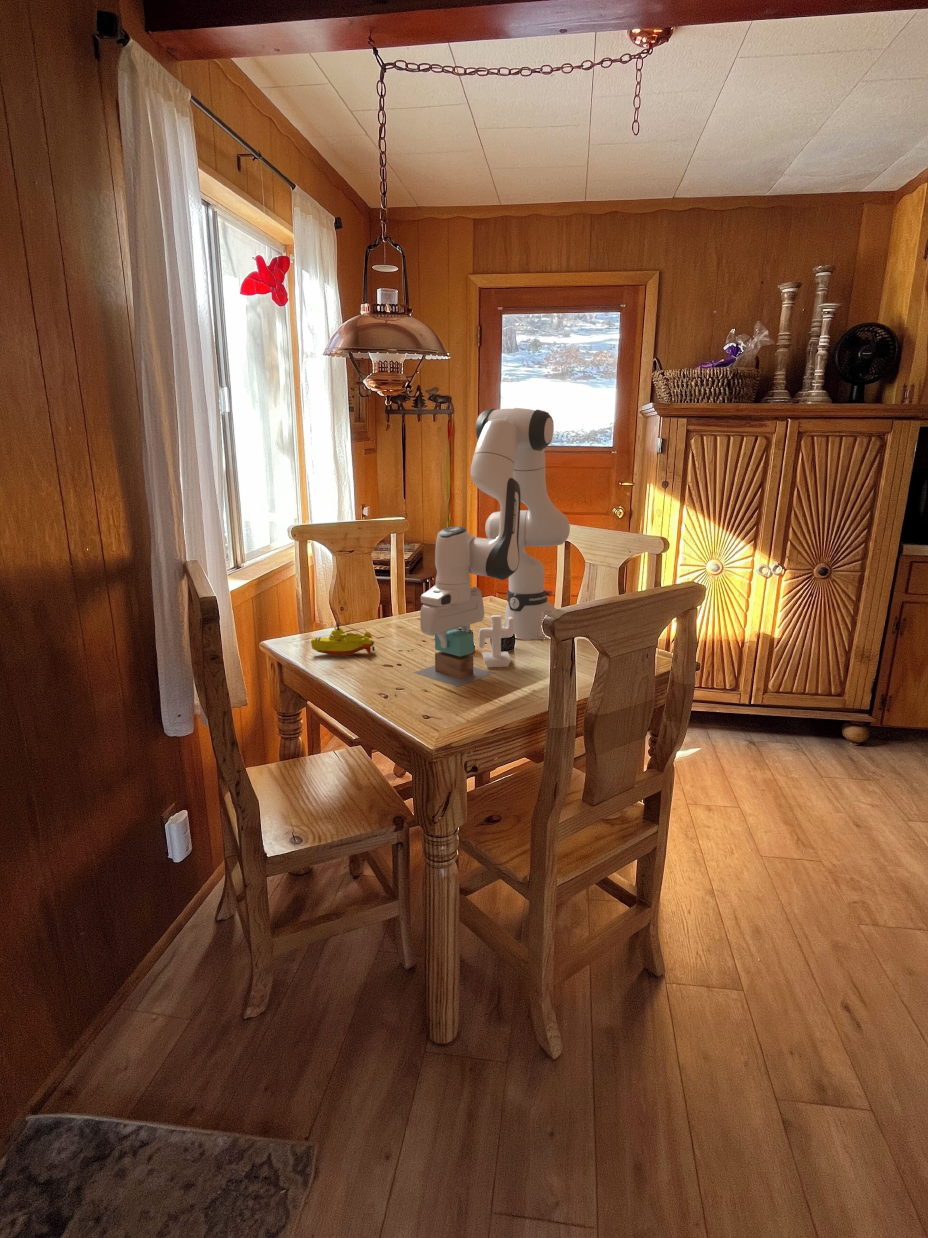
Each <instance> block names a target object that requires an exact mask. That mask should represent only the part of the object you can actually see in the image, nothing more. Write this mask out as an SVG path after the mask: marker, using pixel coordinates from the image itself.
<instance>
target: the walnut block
mask: <svg viewBox="0 0 928 1238" xmlns="http://www.w3.org/2000/svg"><path fill="white" fill-rule="evenodd" d="M434 666H435V671H436V672H439V673H442V674H445V675H449V676H452V677H455V678H458V679H462V678H464V677H467V676H470V675H473V667H474V655H472V654H467V655H464V656H461V657H459V656H456V655H452V654H449V653H445V652H442V651H437V652H435V653H434Z"/></svg>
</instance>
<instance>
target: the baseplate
mask: <svg viewBox="0 0 928 1238" xmlns="http://www.w3.org/2000/svg"><path fill="white" fill-rule="evenodd" d="M413 674H416V675H420V676H423V677H425V678H428V679H431V680H435V681H438V682H441V683H444V684H447V685H450V686H452V687H453V686H454V687H456V688H459V687H462V686H465V685H467V684H469V683H470V684H471V683H473V682H475V681H478V680H481V679H483V678H485V677H488V676H491V675H494V674H495V672H492V671H490V670H486V669H483V668H480V667H476V666H473V675H470V676H467V677H464V678H462V679H458V678H455V677H452V676H449V675H445V674H442V673H439V672H436V671H435V665H431V666H429V667H426V668H423V669H421V670H418V671H417V670H416V671H414V672H413Z"/></svg>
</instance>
